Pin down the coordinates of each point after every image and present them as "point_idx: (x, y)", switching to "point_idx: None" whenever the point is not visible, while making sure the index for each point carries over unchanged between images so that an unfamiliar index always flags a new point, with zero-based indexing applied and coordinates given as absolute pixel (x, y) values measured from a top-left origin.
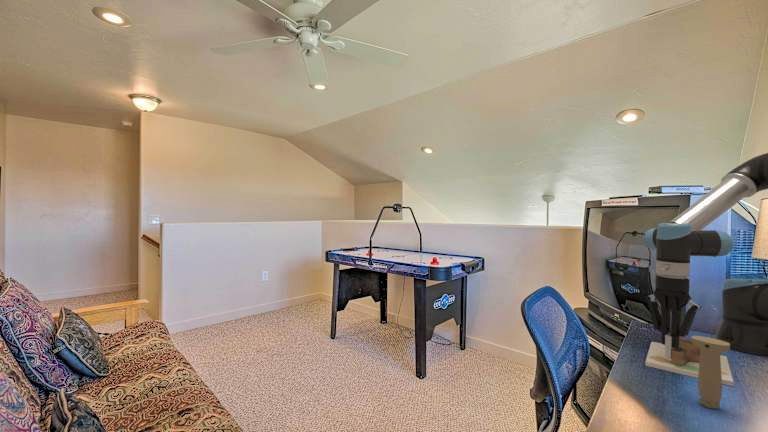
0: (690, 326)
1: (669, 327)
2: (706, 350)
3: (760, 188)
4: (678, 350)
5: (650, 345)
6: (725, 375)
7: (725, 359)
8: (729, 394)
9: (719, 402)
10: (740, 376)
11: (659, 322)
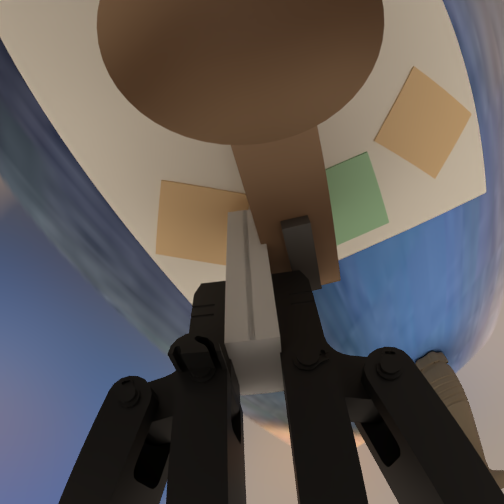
0: (461, 443)
1: (230, 419)
2: None
3: None
4: (314, 285)
5: (15, 62)
6: (463, 141)
7: None
8: (465, 264)
9: (447, 362)
10: (463, 14)
11: (125, 449)
